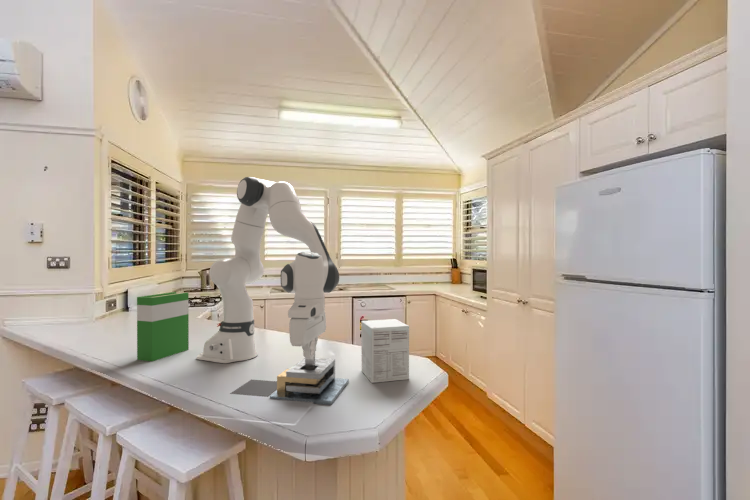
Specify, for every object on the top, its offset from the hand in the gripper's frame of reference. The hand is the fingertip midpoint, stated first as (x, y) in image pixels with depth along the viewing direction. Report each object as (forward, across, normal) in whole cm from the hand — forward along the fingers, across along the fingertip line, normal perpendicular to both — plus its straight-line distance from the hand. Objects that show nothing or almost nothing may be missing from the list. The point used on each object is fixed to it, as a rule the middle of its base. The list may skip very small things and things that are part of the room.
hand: (309, 354), depth 112 cm
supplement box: (+12, -20, +19) cm, 30 cm away
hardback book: (+11, -27, -72) cm, 78 cm away
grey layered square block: (+11, -2, 0) cm, 11 cm away
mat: (+11, 0, -16) cm, 20 cm away
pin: (+7, 0, 0) cm, 7 cm away
